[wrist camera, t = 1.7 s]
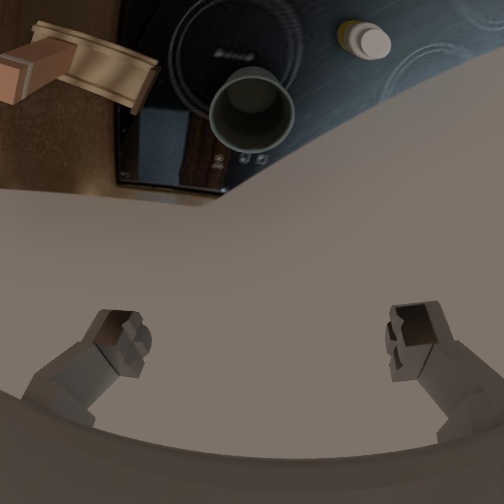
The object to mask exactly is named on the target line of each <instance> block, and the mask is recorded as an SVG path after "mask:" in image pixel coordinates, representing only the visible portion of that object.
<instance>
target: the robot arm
mask: <svg viewBox="0 0 504 504" xmlns="http://www.w3.org/2000/svg"><path fill="white" fill-rule="evenodd" d="M389 315H390V319H391V321H390V322H389V323H388V324H387V327H386V336H385V341H386V349H387V353H388V354H389V355H390V356H391V361H390V364H389V366H390V371H391V377H392V382H399V381H409V380H416V379H418V382H419V383H420V385H421V386H422V387H423V388H424V389H425V390H426V392H427V393H428V394H429V395H430V396H431V397H432V399H433V400H434V401H435V402H436V404H437V405H438V406H439V407H440V408H441V410H442V411H443V412H444V413H445V415H446V416H447V417H448V418H449V419H448V420H447V421H446V423H445V424H444V425H443V426H442V428H440V430H439V431H438V432H437V439H438V444H434V445H429V446H424V447H419V448H414V449H409V450H402V451H396V452H389V453H381V454H373V455H364V456H353V457H339V458H318V459H277V458H256V457H254V458H253V457H242V456H230V455H220V454H213V453H204V452H197V451H190V450H185V449H178V448H174V447H168V446H163V445H158V444H153V443H149V442H144V441H140V440H136V439H132V438H128V437H124V436H120V435H117V434H113V433H109V432H106V431H103V430H99V429H96V428H93V425H94V422H95V416H93V414H91V413H90V412H89V411H88V410H87V409H88V408H89V407H90V406H91V405H92V404H93V403H94V402H95V401H96V400H97V398H99V397H100V396H101V395H102V393H104V392H105V391H106V390H107V389H108V388H109V387H110V386H111V385H112V384H113V383H114V382H115V381H116V380H117V379H118V378H119V376H126V377H133V378H139V376H140V373H141V371H142V368H143V366H144V360H143V357H144V356H146V355H147V354H148V353H149V351H150V348H151V342H152V338H151V333H150V331H149V329H148V328H147V327H146V326H145V325H143V324H142V321H143V318H142V316H141V315H140V313H139V312H135V311H122V310H106V309H102V310H101V311H99V312H98V314H97V315H96V317H95V319H94V320H93V322H92V324H91V325H90V327H89V329H88V331H87V332H86V334H85V336H84V338H83V339H82V341H81V342H77V343H75V344H74V345H73V346H72V347H70V348H69V349H67V350H66V351H65V352H63V353H62V354H60V355H59V356H58V357H56V358H55V359H54V360H52V361H51V362H50V363H48V364H47V365H46V366H44V367H43V368H42V369H40V370H39V371H38V372H36V373H35V374H34V376H33V378H32V380H31V381H30V383H29V385H28V387H27V389H26V391H25V393H24V395H23V397H22V399H21V400H20V399H18V398H16V397H14V396H12V395H10V394H8V393H6V392H4V391H1V390H0V504H504V379H503V378H502V377H501V376H500V375H499V374H498V373H497V372H495V371H494V370H493V369H492V368H490V367H489V366H488V365H487V364H486V363H485V362H484V361H483V360H481V359H480V358H479V357H478V356H477V355H475V354H474V353H473V352H472V351H471V350H469V349H468V348H467V347H466V346H464V345H463V344H462V343H461V342H460V341H458V340H457V341H454V339H453V336H452V333H451V331H450V328H449V326H448V323H447V321H446V318H445V316H444V313H443V311H442V308H441V306H440V304H439V302H438V301H430V302H422V303H421V302H420V303H411V304H402V305H392V307H391V309H390V313H389Z"/></svg>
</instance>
